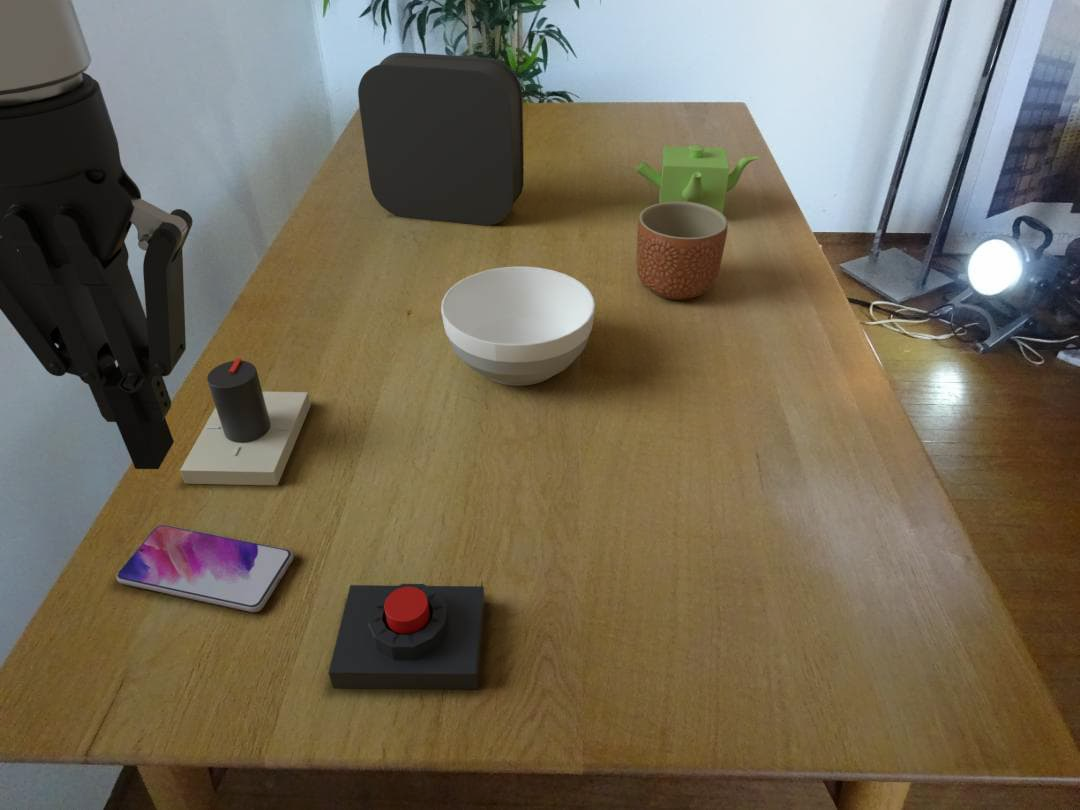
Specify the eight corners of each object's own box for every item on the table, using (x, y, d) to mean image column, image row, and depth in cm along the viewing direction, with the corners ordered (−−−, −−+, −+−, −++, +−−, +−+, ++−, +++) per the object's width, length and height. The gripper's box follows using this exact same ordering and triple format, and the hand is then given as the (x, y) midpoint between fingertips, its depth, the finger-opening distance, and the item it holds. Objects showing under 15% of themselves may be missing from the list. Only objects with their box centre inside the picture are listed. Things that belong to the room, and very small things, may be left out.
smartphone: (257, 610, 72) (111, 578, 75) (260, 616, 72) (114, 584, 75) (295, 549, 77) (158, 521, 80) (297, 555, 78) (160, 527, 81)
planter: (708, 316, 113) (719, 245, 106) (623, 300, 116) (628, 230, 109) (724, 275, 122) (735, 207, 115) (644, 262, 125) (650, 195, 119)
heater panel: (277, 485, 86) (273, 470, 84) (184, 484, 86) (179, 469, 85) (311, 405, 97) (307, 390, 95) (228, 403, 97) (224, 389, 96)
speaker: (374, 214, 139) (353, 62, 124) (392, 194, 146) (374, 47, 131) (513, 228, 135) (510, 72, 119) (526, 207, 141) (524, 57, 126)
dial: (263, 443, 88) (247, 385, 83) (217, 442, 88) (199, 385, 83) (276, 414, 92) (261, 358, 87) (232, 414, 92) (216, 357, 87)
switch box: (332, 688, 67) (324, 659, 64) (353, 600, 74) (347, 571, 71) (477, 689, 67) (474, 660, 64) (484, 601, 74) (482, 572, 71)
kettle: (750, 213, 140) (760, 149, 133) (695, 237, 132) (704, 171, 125) (684, 186, 149) (691, 125, 142) (630, 207, 141) (634, 144, 134)
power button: (383, 634, 67) (380, 621, 65) (390, 599, 69) (387, 586, 68) (426, 634, 66) (425, 621, 65) (432, 599, 69) (430, 586, 68)
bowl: (605, 333, 109) (609, 276, 104) (574, 417, 95) (575, 356, 90) (473, 314, 113) (470, 258, 108) (424, 392, 99) (417, 332, 93)
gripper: (-183, 107, 35) (26, 494, 50) (111, 108, 35) (236, 496, 50) (-78, 60, 41) (82, 418, 56) (174, 61, 41) (270, 419, 56)
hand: (155, 454), depth 53 cm, fingers closed
